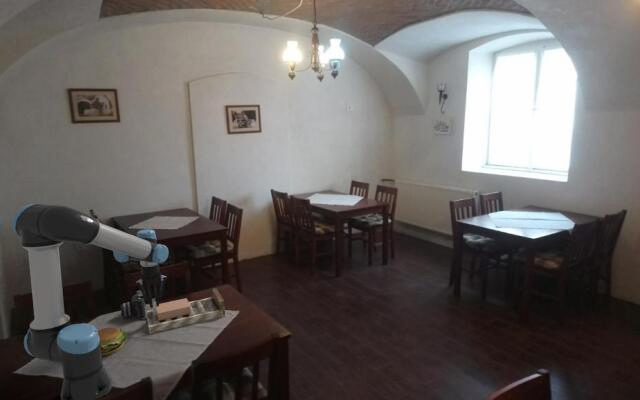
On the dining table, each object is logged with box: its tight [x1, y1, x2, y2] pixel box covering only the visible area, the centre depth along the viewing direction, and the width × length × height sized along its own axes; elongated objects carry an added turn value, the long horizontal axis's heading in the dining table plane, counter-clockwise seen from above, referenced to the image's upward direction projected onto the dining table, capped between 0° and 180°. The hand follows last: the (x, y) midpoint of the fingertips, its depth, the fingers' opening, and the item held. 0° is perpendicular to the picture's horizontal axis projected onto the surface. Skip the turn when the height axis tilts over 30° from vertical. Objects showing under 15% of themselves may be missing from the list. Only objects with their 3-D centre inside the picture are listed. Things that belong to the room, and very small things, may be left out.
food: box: [97, 326, 127, 356], centre depth 168 cm, size 14×14×8 cm
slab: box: [157, 297, 191, 321], centre depth 190 cm, size 14×10×4 cm
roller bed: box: [146, 287, 226, 335], centre depth 193 cm, size 33×17×8 cm, turn 116°
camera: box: [120, 289, 147, 320], centre depth 197 cm, size 14×11×10 cm
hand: (155, 313), depth 187 cm, fingers closed
